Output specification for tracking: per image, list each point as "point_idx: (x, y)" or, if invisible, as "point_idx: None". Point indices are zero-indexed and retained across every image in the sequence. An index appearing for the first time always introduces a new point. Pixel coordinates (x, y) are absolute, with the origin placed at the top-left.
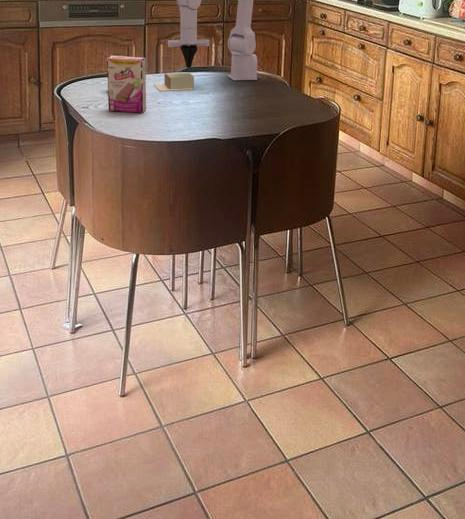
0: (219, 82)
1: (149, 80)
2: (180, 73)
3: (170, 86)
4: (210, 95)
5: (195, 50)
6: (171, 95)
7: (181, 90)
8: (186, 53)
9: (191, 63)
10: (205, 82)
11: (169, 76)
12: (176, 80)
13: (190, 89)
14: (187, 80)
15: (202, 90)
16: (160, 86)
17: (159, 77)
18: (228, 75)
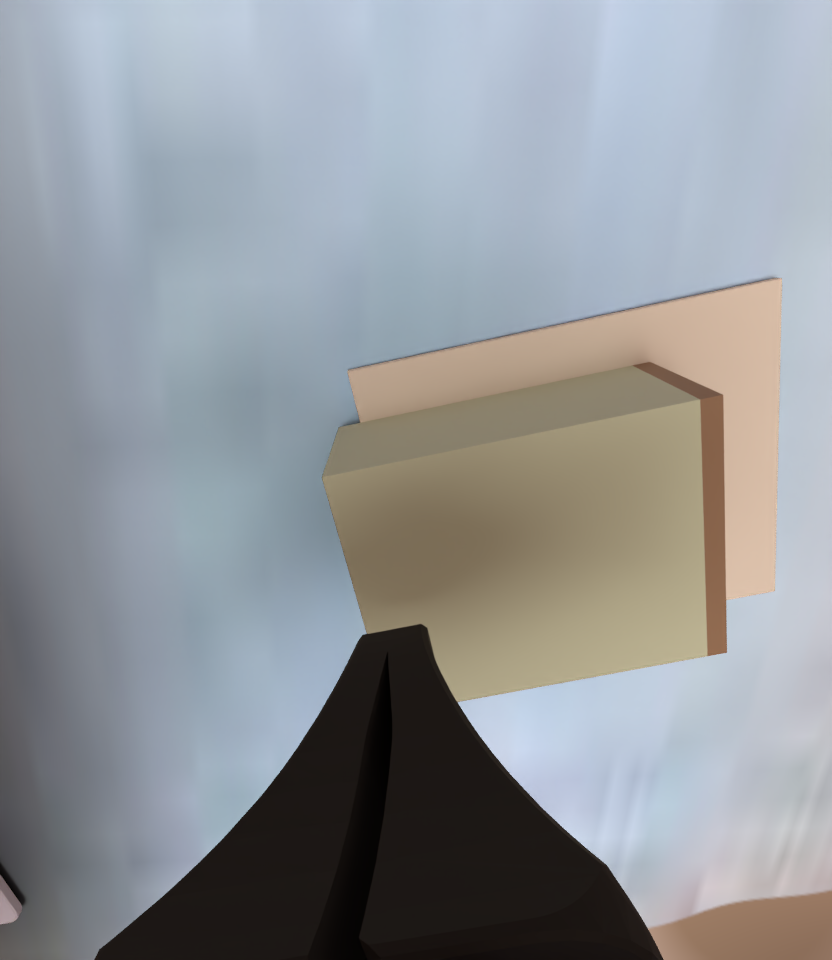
0: (72, 714)
1: (764, 749)
2: (508, 658)
3: (644, 372)
4: (100, 47)
5: (155, 938)
6: (666, 35)
7: (496, 339)
8: (481, 812)
9: (345, 673)
10: (217, 707)
11: (697, 476)
12: (586, 407)
13: (382, 363)
14: (422, 439)
15: (232, 356)
16: (725, 489)
17: (647, 845)
18: (5, 903)
